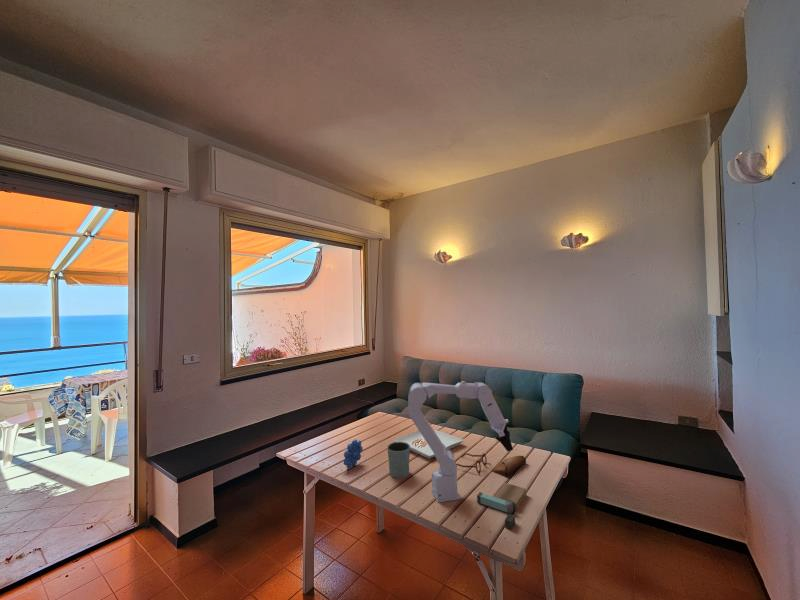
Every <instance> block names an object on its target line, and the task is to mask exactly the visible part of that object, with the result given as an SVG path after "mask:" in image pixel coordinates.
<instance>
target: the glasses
mask: <svg viewBox="0 0 800 600" xmlns="http://www.w3.org/2000/svg"><path fill="white" fill-rule="evenodd" d="M465 456H470V457H472V458H473V457H479V458H480V457H481V458H480V460H476V462H475V465H462V464H459V463H456V465H457V467H458V466H459V467H461V468H474V469H475V470H476V472H477V473H479V474H480V473H481V470H482V466H481V463H482V465H483V466H486V465H487V456H486V453H482V454H470V453H466V452H465V453H464V454H462V455H461V456H460V458H464V457H465ZM484 458H485V459H484ZM484 460H485V461H484ZM478 466H479V468H478ZM478 469H479V470H478Z"/></svg>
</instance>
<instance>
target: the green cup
mask: <svg viewBox="0 0 800 600" xmlns="http://www.w3.org/2000/svg"><path fill="white" fill-rule="evenodd" d="M386 449H387V456H388V470H389V476H390V475H391V476H392V477H391V476H390V477H391V478H393V477H395V478H394V479H398V478H400V479H405V478H407V477H408V476H409V474H410V454H411V450H410V445H409V444H408V443H405V442H394V441H393V442H390V443H389V444H388V445H387V448H386ZM406 476H407V477H406ZM404 477H405V478H404Z"/></svg>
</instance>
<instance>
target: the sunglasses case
mask: <svg viewBox="0 0 800 600" xmlns="http://www.w3.org/2000/svg"><path fill="white" fill-rule="evenodd" d="M526 463H527V459H526V458H525V456H524V455H514V456H512V457H511V456H510V457H508V458H505V459H502V460H501V462H499V463H498V464H496V466H494V467H493V468H491V470H490V472H491V473H494V474H497V475H500V476H502V477H505V478H508V477H510V475H511V474H512V473H514V472H515V471H516V470H518V469H519V468H520V467H522V466H523V465H525V464H526Z"/></svg>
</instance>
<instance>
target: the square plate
mask: <svg viewBox="0 0 800 600" xmlns="http://www.w3.org/2000/svg"><path fill="white" fill-rule="evenodd" d="M433 430H434V431H435V433H436V434H437V436H438V437H439V439H440V441H441V442H442V443H443V444H444V445H445V447H446V448H447V449H449V450H451V449H453V448H455V447H458V446H459V445H461V444H462V443H463V442H464V441H465V440H464V439H463V438H461V437H457V436H454V435H452V434H449V433H446V432H442V431H440V430H436V429H433ZM417 439H419V440H420V439H422V440H421V441H423V442H424V441H426V440H425V439H424V437H423V436H422V434H421V433H420V431H419V430H418V429H417V430H416V431H412V432H410V433H408V434H405V435H403V436H400V437H398V438H394V440H393V442H405V443H408V444H409V445H410V452H414V453H416V454H418V455H420V456H422V457H425V458H427V459H432V458H434V457H435V455H434V453H433V451H432V450H431V448H430V446H429V445H428V443H427V445H426V446H425V447H422V448H421V446H420V445H422V444H420V443H421V441H420V442H419V444H418V443H416V445H417V444H418V445H417V446H416V447H415V443H414V444H413V445H412V442H413V441H415V440H417ZM425 443H426V442H425ZM418 446H420V447H419V448H418ZM435 458H436V457H435Z"/></svg>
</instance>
